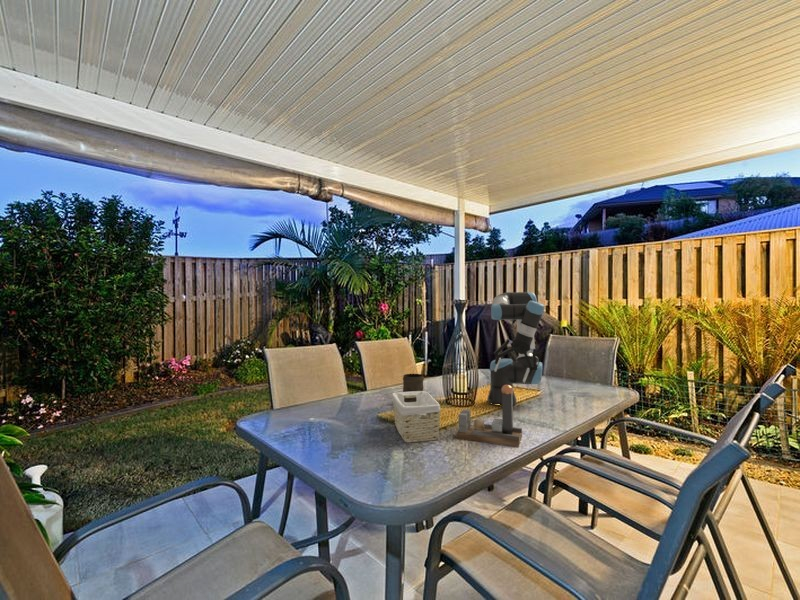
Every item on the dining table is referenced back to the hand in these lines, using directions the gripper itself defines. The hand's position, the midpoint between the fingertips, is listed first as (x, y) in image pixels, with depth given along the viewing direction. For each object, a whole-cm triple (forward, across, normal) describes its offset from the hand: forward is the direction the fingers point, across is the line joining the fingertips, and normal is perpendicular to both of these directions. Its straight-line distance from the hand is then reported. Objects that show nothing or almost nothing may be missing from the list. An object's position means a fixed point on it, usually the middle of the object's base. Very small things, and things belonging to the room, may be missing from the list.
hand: (509, 376), depth 174 cm
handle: (+15, +1, -30) cm, 33 cm away
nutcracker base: (+19, -3, -29) cm, 35 cm away
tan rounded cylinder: (+19, -7, -28) cm, 35 cm away
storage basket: (+30, -32, -29) cm, 52 cm away
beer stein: (+34, -35, -4) cm, 49 cm away
